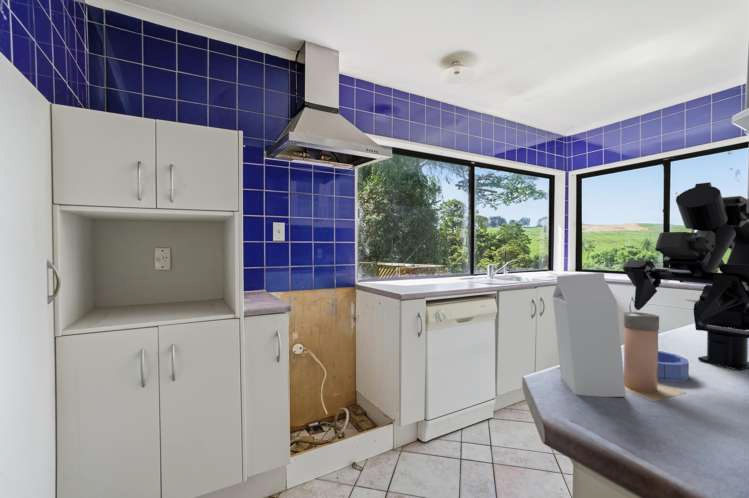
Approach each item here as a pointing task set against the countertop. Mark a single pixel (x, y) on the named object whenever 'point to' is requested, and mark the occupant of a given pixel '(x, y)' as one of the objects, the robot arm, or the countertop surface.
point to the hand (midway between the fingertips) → (665, 313)
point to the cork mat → (657, 393)
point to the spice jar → (641, 351)
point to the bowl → (672, 367)
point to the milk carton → (588, 336)
